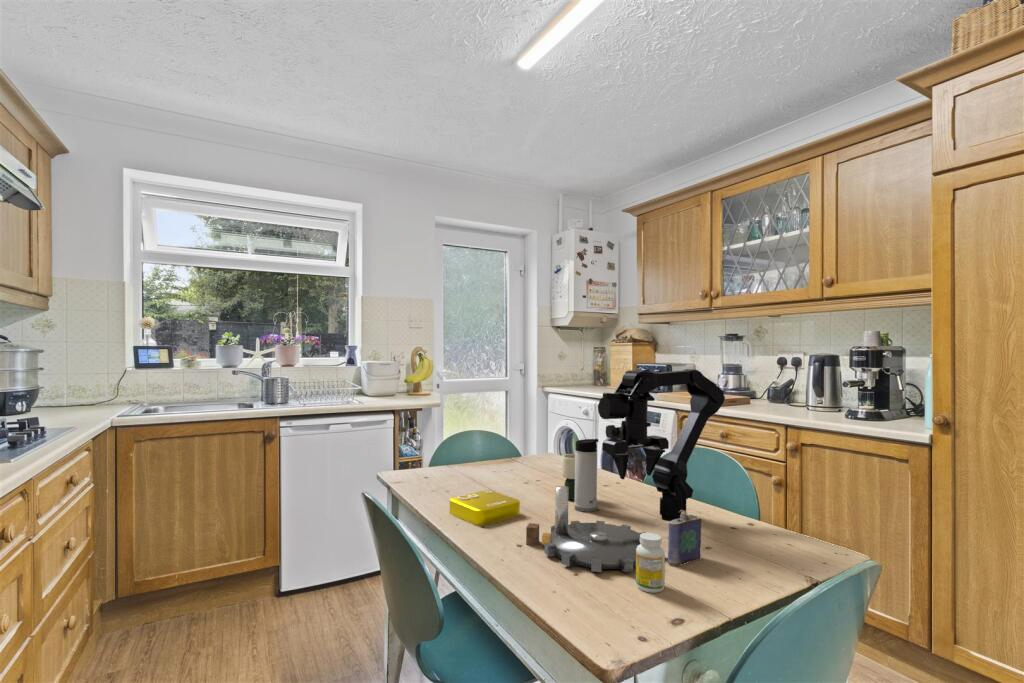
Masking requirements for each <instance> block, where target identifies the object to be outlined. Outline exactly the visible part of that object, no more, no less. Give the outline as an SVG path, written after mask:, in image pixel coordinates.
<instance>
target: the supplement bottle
mask: <svg viewBox="0 0 1024 683" xmlns="http://www.w3.org/2000/svg"><path fill="white" fill-rule="evenodd" d="M641 533H642V532H641ZM640 543H641V544H640V545H638V546H637V548H636V565H635V585H636V586H637V589H639V590H641V591H643V592H646V593H653V594H654V593H656V594H657V593H661V592H663V591H664V589H665V576H666V575H665V573H666V570H665V568H666V567H665V566H666V565H665V564H666V561H665V560H666V557H665V556H666V555H665V554H666V552H665V550H664V548H663V547H662V537H661V535H660V534H656V533H654V532H653V533H652V532H646V533H642V534H640Z"/></svg>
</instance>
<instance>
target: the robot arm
mask: <svg viewBox="0 0 1024 683" xmlns="http://www.w3.org/2000/svg"><path fill="white" fill-rule="evenodd" d="M682 385H685V388H686V391H687V393H688V394H689V395H690V396H691V397H690V401H689V403H690V412H689V414H688V415H687V418H686V421H685V422H684V425H683V426H682V428H681V431H680V432H679V435H678V437H677V439H676V440H675V442H674V445H673V446H672V449H671V451H670V453H669V455H668V456H666V457H665V458H664V457H662V456H663V453H665V452H666V450H668V449H670V448H669V446H670V444H669V443H670V442H669V440H668V438H667V437H663V436H660V435H648V428H649V427H652V422H649V421H648V410H649V409H648V402H654V401H655V397H654V396H652V394H650V392H652V391H655V390H656V389H657V388H661V387H669V386H671V387H672V386H682ZM725 400H726V396H725V394H724V391H723V389H722V388H721V387H719V386H718V385H717V384H716V383H715V382H714V381H713V380H710V379H709V378H707V377H706V376H705V375H704V374H703V373H702V372H701V371H700V370H698V369H689V368H686V369H683V370H671V371H659V372H658V371H657V372H653V371H646V370H645V371H644V370H631V369H630V370H627V371H625V372H624V374H623V376H622V379H621V381H620V383H619V384H618V386H617V387H616V389H615V390H614V391H613V392H603V393H602V397H601V398H600V399H599V402H598V405H597V411H598V415H599V416H600V418H601V419H602V420H617V419H618V420H621V419H625V420H621V423H620V426H618V427H617V426H615V424H609V425H606V426H605V435H606V438H607V439H605V440H603V442H602V444H601V445H602V448H601V450H602V451H603V452H605V453H606V454H608V455H609V456H611V457H612V458H613V460H614V463H615V466H616V469H617V473H618V475H619V478H620V479H621V480H625V478H626V474H627V469H628V463H629V457H630V454H628V451H629V450H630V449H638V448H642V450H643V452H644V454H645V473H646V475H647V476H652V480H653V483H654V485H655V488H656V490H657V492H660V493H661V496H660V497H659V515H660V516H661V519H662V520H668V521H672V520H675V519H678V518H680V515H681V512H683V511H681V512H679V511H680V510H684V511H686V512H687V500H688V499H691V498H692V497H693V492H694V489H693V488H692V487H691V485H690V484H689V483H688V482H687V479H688V475H689V474H688V466H687V465H688V462H689V459H690V457H691V455H692V453H693V451H694V449H695V447H696V445H697V443H698V441H699V439H700V436H701V434H702V432H703V430H704V428H705V426H706V424H707V423H708V420H709V419H710V418H711V417H713V415H715V414H716V413H718V412H719V411H720V409H721V407H722V406H723V405H724V402H725ZM609 438H610V439H609Z"/></svg>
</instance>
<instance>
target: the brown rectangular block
mask: <svg viewBox="0 0 1024 683" xmlns="http://www.w3.org/2000/svg"><path fill="white" fill-rule="evenodd" d="M525 529H526V530H525V532H526V533H525V535H526V536H525V538H526V539H525V540H526V541H525V542H526V543H525V545H526V546H535V547H536V546H537V545H538V543H539V542H540V524H539V523H531V522H529V523H528V525H526V528H525Z"/></svg>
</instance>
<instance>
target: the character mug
mask: <svg viewBox="0 0 1024 683" xmlns="http://www.w3.org/2000/svg"><path fill="white" fill-rule="evenodd" d="M561 460H562V462H561V464H562V467H561V468H562V470H561V473H562V474H561V475H562V477H563V478H565V481H564V485H563V486H567V487H568V488H569V489H568V500H575V453H567V454H563V455H562V459H561Z"/></svg>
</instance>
